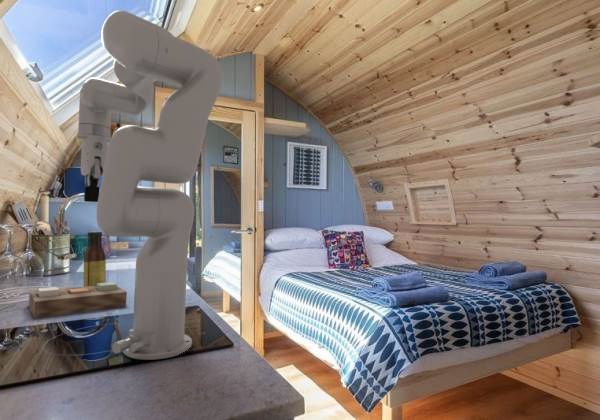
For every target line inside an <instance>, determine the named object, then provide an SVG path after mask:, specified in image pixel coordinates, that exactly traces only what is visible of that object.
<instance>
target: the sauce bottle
mask: <svg viewBox="0 0 600 420" xmlns="http://www.w3.org/2000/svg"><path fill="white" fill-rule="evenodd" d="M87 237H88V243H87V247H86V249H85V251H84V254H83V287H85V286H96V285H97V283H107V277H106V276H107V275H106V273H107V272H106V271H107V264H106V262H107V261H106V260H107V259H106V258H107V257H106V254H105V251H104V247H103V245H102V237H103V232H102V231H88V232H87Z"/></svg>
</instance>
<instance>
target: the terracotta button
mask: <svg viewBox="0 0 600 420" xmlns="http://www.w3.org/2000/svg"><path fill="white" fill-rule="evenodd" d="M79 293H89V290H88V289H87V288H79V289H69V294H79Z"/></svg>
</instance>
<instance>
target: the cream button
mask: <svg viewBox="0 0 600 420" xmlns="http://www.w3.org/2000/svg"><path fill="white" fill-rule="evenodd" d="M59 289H60V288H59V287H58V286H50V287H40V288H37V291H38V298H39V297H49V296H59Z"/></svg>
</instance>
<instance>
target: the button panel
mask: <svg viewBox="0 0 600 420" xmlns="http://www.w3.org/2000/svg"><path fill="white" fill-rule="evenodd" d="M79 288H87V289H88V290H89V293H79V294H69V289H79ZM58 289H59V296H49V297H39V298H38V290H30V291H29V293H28V294H29V296H28V308H29V310H30V312H31V314H32V316H33V318H34V319H39V318H45V317H51V316H52V317H54V316H61V315H69V314H76V313H83V312H90V311H92V312H93V311H98V310H99V311H100V310H106V309H114V308H123V307H127V296H128V295H127V293H128V292H127V291H126V290H124V289H123V288H121V287H119V286H118V285H117V290H109V291H98V290H97V285H96V286H85V287H84V286H76V287H74V286H73V287H65V288H64V287H63V288H58Z"/></svg>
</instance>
